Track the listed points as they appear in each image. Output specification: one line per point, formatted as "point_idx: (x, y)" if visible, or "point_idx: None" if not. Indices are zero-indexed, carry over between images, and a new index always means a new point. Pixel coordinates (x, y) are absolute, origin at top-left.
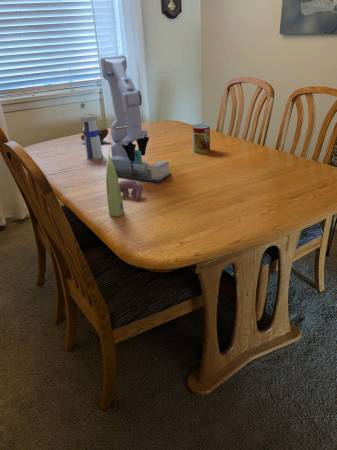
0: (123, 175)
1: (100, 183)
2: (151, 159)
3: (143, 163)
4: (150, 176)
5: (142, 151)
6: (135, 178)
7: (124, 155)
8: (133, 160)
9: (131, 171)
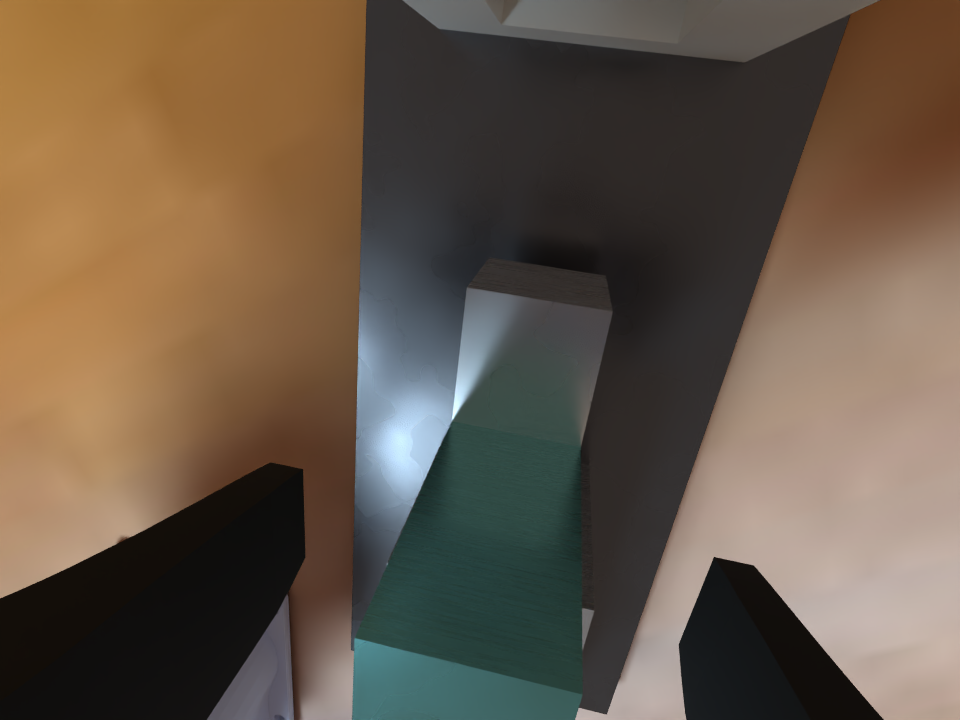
0: (658, 540)
1: (869, 685)
2: (22, 426)
3: (508, 368)
4: (634, 144)
5: (243, 568)
6: (727, 359)
7: (211, 715)
8: (762, 581)
9: (584, 486)
